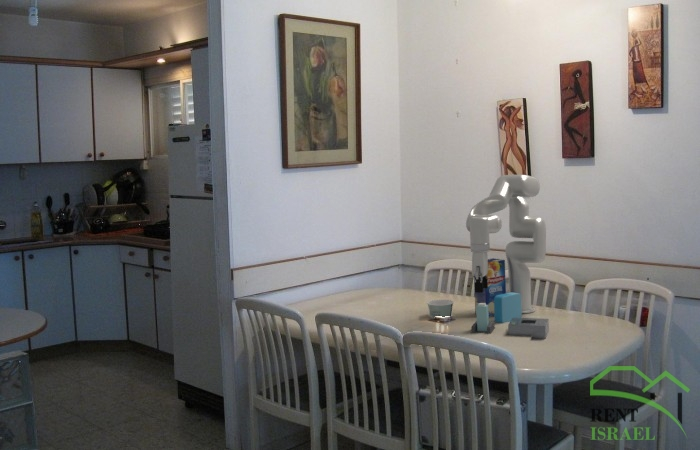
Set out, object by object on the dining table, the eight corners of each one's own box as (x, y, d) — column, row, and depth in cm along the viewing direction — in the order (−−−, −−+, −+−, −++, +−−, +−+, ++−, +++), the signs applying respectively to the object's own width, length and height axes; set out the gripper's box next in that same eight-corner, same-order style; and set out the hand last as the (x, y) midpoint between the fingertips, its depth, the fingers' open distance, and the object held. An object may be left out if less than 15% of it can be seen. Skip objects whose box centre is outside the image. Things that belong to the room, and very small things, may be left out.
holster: (475, 329, 300) (475, 320, 299) (495, 329, 297) (495, 321, 296) (471, 335, 290) (470, 326, 290) (491, 335, 288) (490, 327, 287)
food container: (423, 318, 324) (422, 304, 323) (433, 312, 335) (432, 298, 334) (448, 320, 318) (448, 305, 318) (458, 314, 329) (457, 300, 328)
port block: (513, 329, 295) (512, 316, 295) (548, 331, 290) (548, 317, 290) (508, 337, 284) (508, 323, 284) (545, 338, 279) (545, 324, 278)
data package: (513, 319, 314) (512, 291, 313) (521, 320, 310) (521, 292, 309) (494, 324, 307) (493, 295, 306) (502, 325, 303) (501, 297, 302)
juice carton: (486, 317, 320) (484, 263, 318) (475, 314, 326) (473, 261, 324) (506, 312, 326) (504, 259, 324) (495, 310, 333) (493, 258, 330)
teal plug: (479, 328, 296) (478, 302, 295) (489, 329, 295) (488, 302, 294) (477, 331, 292) (476, 304, 291) (487, 331, 291) (486, 304, 290)
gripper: (475, 245, 300) (476, 286, 301) (466, 250, 284) (467, 294, 285) (493, 245, 297) (494, 286, 298) (485, 250, 281) (486, 294, 282)
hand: (481, 290), depth 292 cm, fingers open, 9 cm apart
